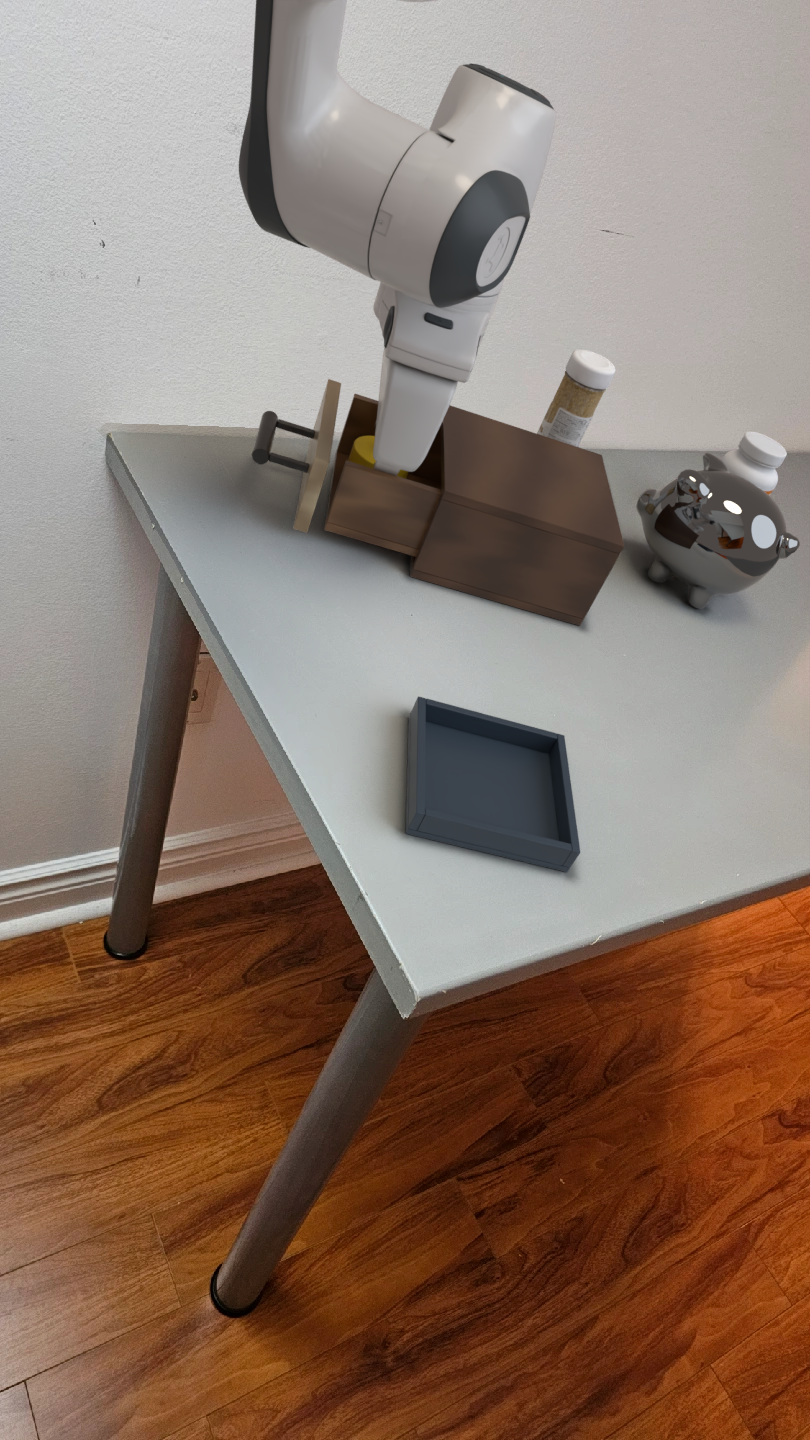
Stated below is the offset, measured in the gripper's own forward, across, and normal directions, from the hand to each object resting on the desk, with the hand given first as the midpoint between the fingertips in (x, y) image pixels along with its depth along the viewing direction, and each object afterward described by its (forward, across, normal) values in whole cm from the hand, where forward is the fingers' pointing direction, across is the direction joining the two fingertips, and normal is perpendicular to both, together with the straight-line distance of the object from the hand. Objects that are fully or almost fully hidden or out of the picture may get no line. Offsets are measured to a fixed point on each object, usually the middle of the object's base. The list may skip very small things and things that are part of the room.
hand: (380, 460), depth 90 cm
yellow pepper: (+3, 0, 0) cm, 3 cm away
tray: (+5, +31, +10) cm, 33 cm away
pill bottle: (+6, -17, +38) cm, 42 cm away
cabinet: (+6, 0, +12) cm, 13 cm away
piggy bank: (+6, -5, +32) cm, 33 cm away
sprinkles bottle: (+6, -17, +18) cm, 26 cm away
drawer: (+4, 0, -1) cm, 5 cm away
